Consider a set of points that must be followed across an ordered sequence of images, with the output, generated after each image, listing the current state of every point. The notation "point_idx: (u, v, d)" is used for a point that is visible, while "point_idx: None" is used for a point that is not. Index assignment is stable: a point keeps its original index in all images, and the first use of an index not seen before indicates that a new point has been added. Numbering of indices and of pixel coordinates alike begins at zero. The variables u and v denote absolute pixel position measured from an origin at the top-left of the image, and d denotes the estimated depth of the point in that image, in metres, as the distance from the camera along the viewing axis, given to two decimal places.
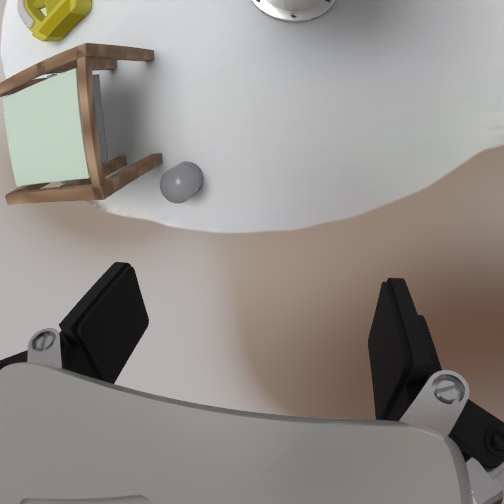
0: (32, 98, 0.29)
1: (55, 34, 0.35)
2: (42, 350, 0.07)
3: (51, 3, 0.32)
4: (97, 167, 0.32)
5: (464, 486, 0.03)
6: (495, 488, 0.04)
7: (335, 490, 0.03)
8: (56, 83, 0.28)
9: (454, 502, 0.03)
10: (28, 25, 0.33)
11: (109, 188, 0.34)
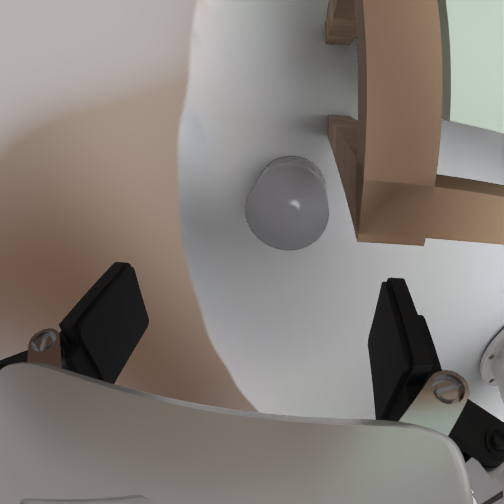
0: None
1: None
2: (42, 350, 0.07)
3: None
4: None
5: (464, 486, 0.03)
6: (495, 488, 0.04)
7: (335, 490, 0.03)
8: None
9: (454, 502, 0.03)
10: None
11: None
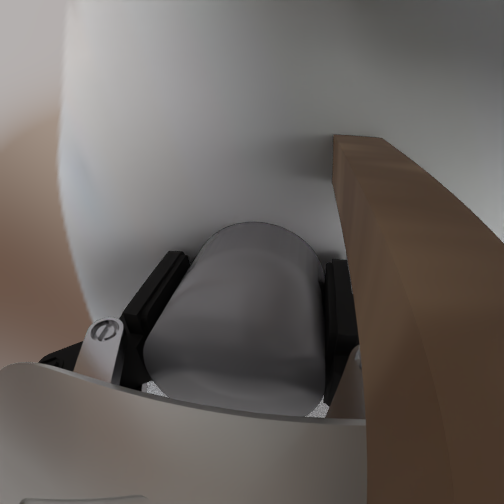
0: None
1: None
2: (100, 340, 0.08)
3: None
4: None
5: None
6: None
7: (335, 490, 0.03)
8: None
9: None
10: None
11: None
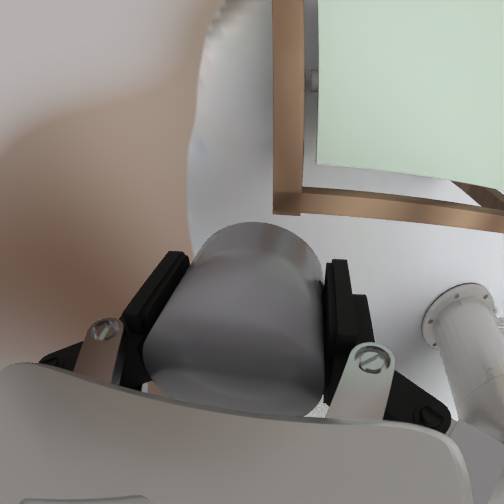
0: (503, 65, 0.12)
1: None
2: (101, 340, 0.08)
3: None
4: None
5: (464, 486, 0.03)
6: None
7: (335, 490, 0.03)
8: None
9: (454, 502, 0.03)
10: None
11: None
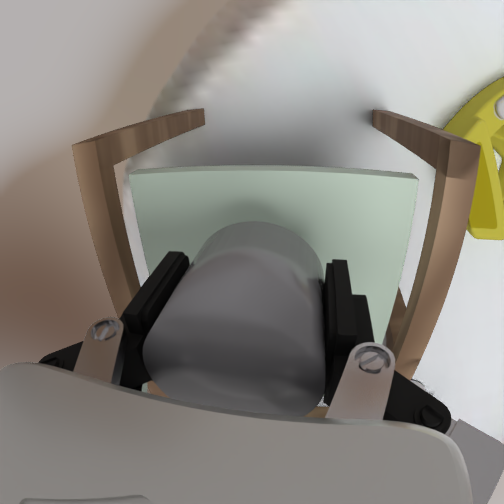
0: None
1: None
2: (100, 340, 0.08)
3: None
4: None
5: (464, 486, 0.03)
6: None
7: (335, 490, 0.03)
8: None
9: (454, 502, 0.03)
10: (503, 104, 0.18)
11: None
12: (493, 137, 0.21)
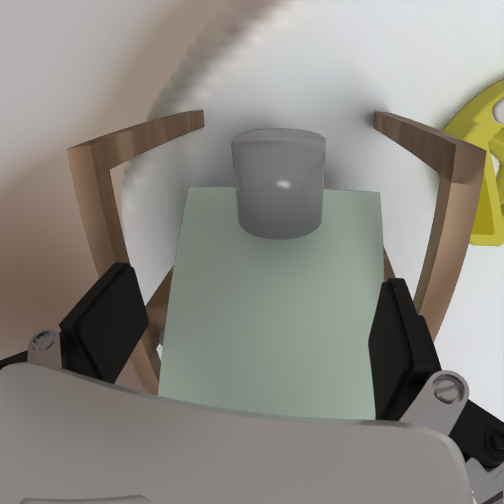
0: (356, 297, 0.19)
1: None
2: (42, 350, 0.07)
3: None
4: None
5: (464, 486, 0.03)
6: (495, 488, 0.04)
7: (335, 490, 0.03)
8: (362, 376, 0.17)
9: (454, 502, 0.03)
10: (501, 108, 0.17)
11: None
12: (491, 141, 0.21)
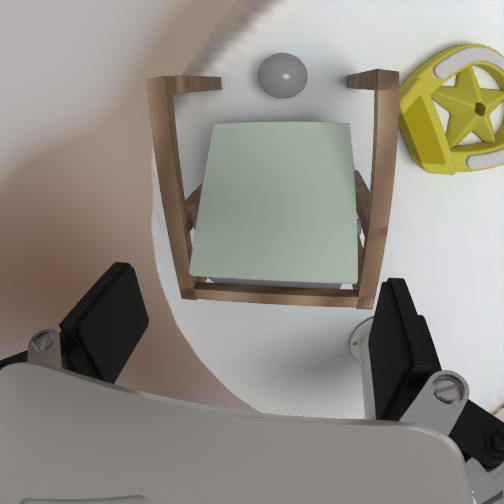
0: (335, 186, 0.27)
1: (401, 118, 0.31)
2: (42, 350, 0.07)
3: (455, 105, 0.29)
4: None
5: (464, 486, 0.03)
6: (495, 488, 0.04)
7: (335, 490, 0.03)
8: (344, 239, 0.25)
9: (454, 502, 0.03)
10: (440, 68, 0.26)
11: None
12: (437, 95, 0.29)
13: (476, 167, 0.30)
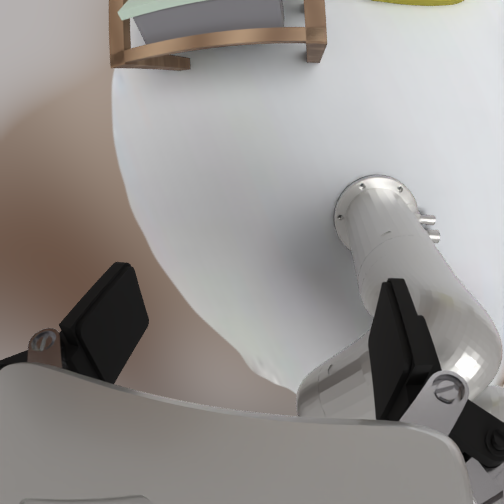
0: None
1: None
2: (42, 350, 0.07)
3: None
4: (147, 56, 0.22)
5: (464, 486, 0.03)
6: (495, 488, 0.04)
7: (335, 490, 0.03)
8: None
9: (454, 502, 0.03)
10: None
11: (126, 66, 0.24)
12: None
13: None
